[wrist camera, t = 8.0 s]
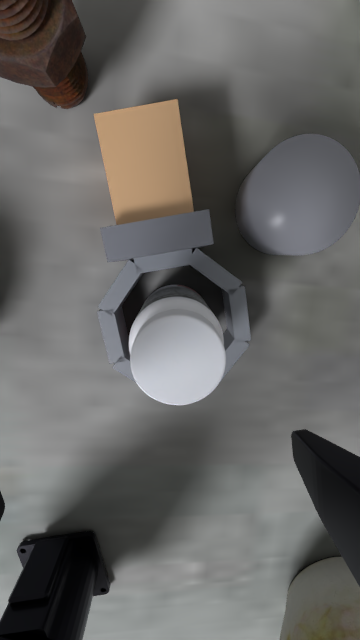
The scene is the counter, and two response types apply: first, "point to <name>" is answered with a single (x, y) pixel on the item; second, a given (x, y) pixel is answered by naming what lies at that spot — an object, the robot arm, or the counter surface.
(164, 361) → the pill bottle
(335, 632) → the sugar bowl
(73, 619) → the robot arm
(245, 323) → the octagonal ring stamp
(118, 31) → the counter surface
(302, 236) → the grey rounded lump
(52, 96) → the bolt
